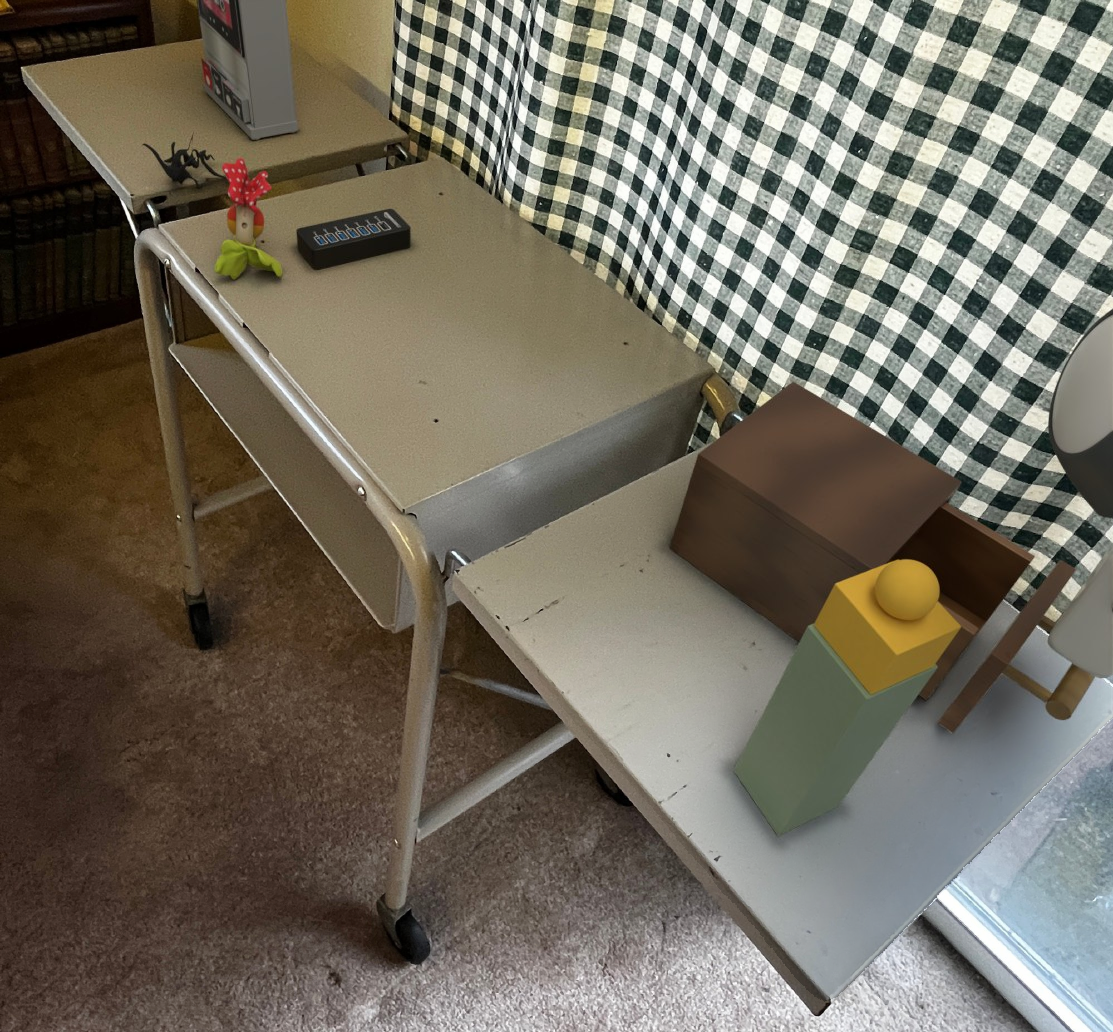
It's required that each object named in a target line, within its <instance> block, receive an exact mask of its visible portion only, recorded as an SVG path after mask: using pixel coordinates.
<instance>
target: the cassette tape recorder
mask: <svg viewBox="0 0 1113 1032" xmlns="http://www.w3.org/2000/svg"><path fill="white" fill-rule="evenodd" d="M196 6H197V7H196V8H197V13H198V17H199V18H198V19H199V24H200V31H201V39H202V45H203V52H204V59H205V60H204V59H203V58H202V57H201V58H200V59H201V66H202V72H203V80H204V81H203V86H204V87H203V88H204V91H205V93H207V94H208V96H209V97H210V98H211V99H212V100H213V101H214V102H215V103H216V104H217V105H218V106H219V107H220V108H221V109H222V111H224V112H225V113H226V114H227V115H228V116H229V117H230V119H231V120H232V121H233V122H235V124H237V126H238V127H239V128H241V130H242V131H243V132H244V133H245V134H246V135H247V136H248V137H249V138H250V139H251V140H254V141H258V140H260V139H262V138H266V137H272V136H278V135H283V134H288V133H290V134H294V133H296V132H299V120H297V113H296V101H295V100H296V99H295V92H294V91H295V89H294V88H295V87H294V78H293V65H292V54H291V43H290V41H291V40H290V30H289V29H290V28H289V19H288V18H289V17H288V7H287V0H196Z"/></svg>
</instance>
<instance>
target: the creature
mask: <svg viewBox="0 0 1113 1032" xmlns="http://www.w3.org/2000/svg"><path fill="white" fill-rule="evenodd" d="M194 132H195V131H193V132H192V135H191V138H190V141H189V143H188V148H181V149H178V150H176V152H175V147H176V141H173V142H172V143H171V145H170V151H171V157H169V158H167V159H164V160H163V159H162V158H161V156H160V154H159V153H158V151H156V150H155V149H154V148H153V147H152V146H151V145H149V144H147V143H142V145H141V146H144V147H146V148H147V149H148V150H150V152H152V154H153V155H154V157H155V158H156V161H157V162H158V163H159V164H160V166H161V167H162V169H163V170H164V172H165V174H166V175H167V176H168V177H169V178H170V179H171V181H172V182H177V183H179V184H180V185H181V186H183V184H184V182H185V181H186V180H188V179H191V180H193V181H194V182H195V185H196V187H197V188H198V189H201V188H202V187H203V185H205V184H206V182H202V183H201V184H200V185H199V181H198V180H197V179H196V178H194V177H193V176H192V175H191V174H190V173H189V171H188V170H187V168H189V167H192V168H193V169H195V170H197V169H199V167H200V162H201V164H202V165H203V167H204V168H205V169H206V171H208V172H209V174H211V175H212V176H214V177H205V178H204V179H205V180H206V181H209V180H213V179H214V180H215V179H216V180H217V179H219V180H220V179H221V180H222V179H223V180H228V179H227V178H226V176H224V175H222V174H220V173H217V172H216V171H215V170H214V169H213V168H212V167H211V166H210V165H209V164H208V163H207V162H206V161H209V160H210V159H212V160H213V161H215V158H214V157H213V155H212V154H208V155H207V150H206V149H203V150H200V151H199V150H198V149H196V148H192V149H191V153H190V154H189V153H188V151H189V150H190V147H191V146H190V145H191V144H192V141H193V139H194V134H195V133H194ZM194 152H195V156H194V154H193V153H194ZM182 158H183V162H182ZM167 164H170V165H167Z"/></svg>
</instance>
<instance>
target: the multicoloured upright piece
mask: <svg viewBox="0 0 1113 1032" xmlns="http://www.w3.org/2000/svg"><path fill="white" fill-rule="evenodd" d="M221 170H222V171H223V174H224V175H225V177H226V178H227V179H226V180H227V181H228V183H229V186H228V189H227V195H228V197H229V199H230V201H231V202H232V203H233V205H231V206H230V208H229V209H228V211H227V215H226V224H227V228H228V230H229V232H230V233H231V234H232V235H233V237H234V240H232V239H225V240H224V241H223V242H222V243H221V245H220V255H219V257H217V259H216V261H215V265H214V269H213V271H214V273H216V274H218V275H222V276H230V277H231V278H230V279H232V280H234V281H235V280H236V279H238V278H239V277H240V275H241V274H242V273H243V272H244V271H245V269H246V268H247V265H249V266H252V267H253V268H256V269H257V268H258V269H261V270H263V271H267V272H273V273H275V275H276V277H282V276H283V268H282V265H281V263H280V262H279V260H277V259H276V258H274V257H272V256H271V255H269V254H268V253H267V252H266V251H264V250H261V248H257V246H256V240H255V239H258V238H259V237H260V236H261V235H262V233H263V230H264V229H265V216H264V214H263V211H262V210H261V209H260V208H259V207H258V206H257V204H258V203H257V201H258V199H259V198H261V197H263V196H264V195H266V194H268V193H269V192H270V191H271V190H272V189H273V187H272V186H271V185H270V183H269V182H268V181H267V179H268V177H269V173H268V172H267V171H265V170H262V171H260V172H259V173H258V174H257V175H256V176H255V177H253V178H252V179H251V180H250V178H249V171H248V169H247V165H246V162H245V160H244V158H242V157H239V158H237V159H236V160H235V162H232V163H231V162H224V163H223V164H222V166H221Z"/></svg>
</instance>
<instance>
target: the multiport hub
mask: <svg viewBox="0 0 1113 1032" xmlns="http://www.w3.org/2000/svg"><path fill="white" fill-rule="evenodd" d="M411 228H412V227H411V225H410V224H408V222H407V221H406V220H405V219H404V218H403V217H402V216H401V215H400V214H399V213H398V212H397V211H396V209H393V208H386V209H382V210H377V211H373V212H368V213H363V214H358V215H353V216H349V217H344V218H338V219H335V220H331V221H325V222H321V223H316V224H311V225H307V226H302V227H298V228H296V243H297V252H299V253H300V254H301V256H302V257H303V258H304V259H305V261H306V262H307V264H309V266H310V267H311V268H312V269H313V270H315V271H318V270H319V271H320V270H322V269H327V268H331V267H336V266H339V265H344V264H347V263H351V262H356V261H360V260H364V259H368V258H372V257H376V256H381V255H385V254H390V253H394V252H398V251H402V250H407V249H410V248H411V239H412V238H411V237H412V235H411V233H412V231H411V230H412V229H411Z"/></svg>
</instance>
